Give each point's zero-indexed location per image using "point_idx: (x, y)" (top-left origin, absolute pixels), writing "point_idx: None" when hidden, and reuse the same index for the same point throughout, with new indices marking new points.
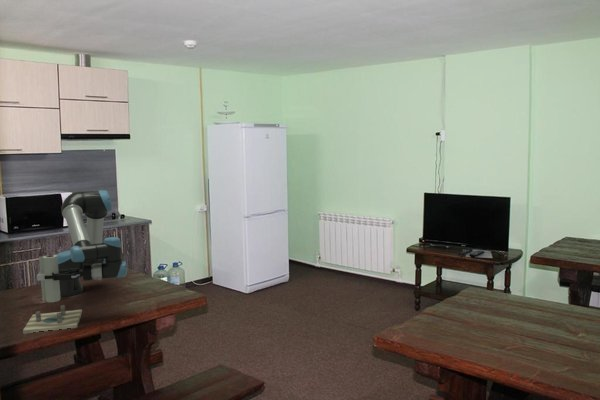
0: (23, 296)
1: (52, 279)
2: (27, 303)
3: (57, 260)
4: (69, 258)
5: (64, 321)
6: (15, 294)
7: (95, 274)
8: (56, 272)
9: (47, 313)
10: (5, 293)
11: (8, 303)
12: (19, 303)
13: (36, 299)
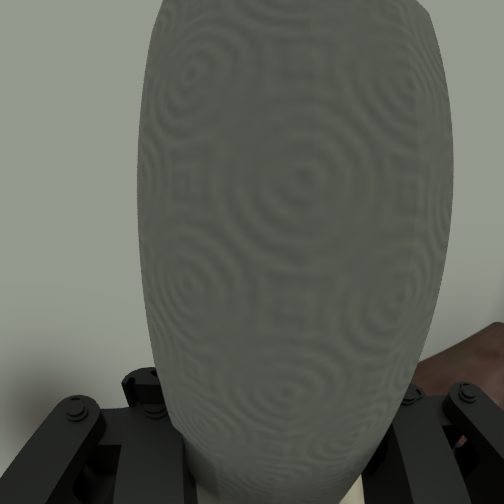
0: (494, 352)
1: None
2: (465, 381)
3: (382, 90)
4: None
5: None
6: (494, 337)
7: None
8: (200, 440)
9: (362, 492)
10: (488, 325)
11: (451, 351)
12: (459, 368)
13: (493, 382)
